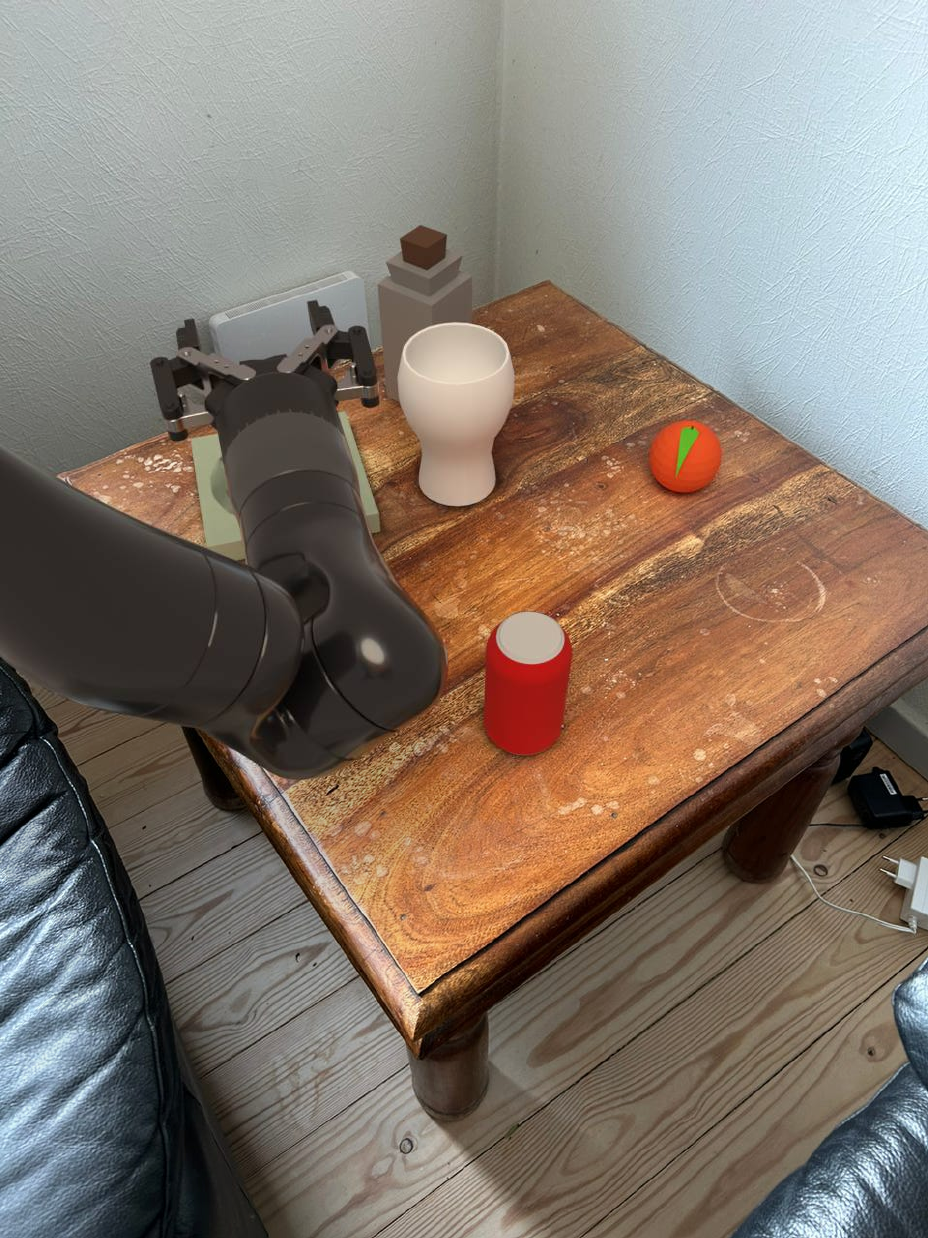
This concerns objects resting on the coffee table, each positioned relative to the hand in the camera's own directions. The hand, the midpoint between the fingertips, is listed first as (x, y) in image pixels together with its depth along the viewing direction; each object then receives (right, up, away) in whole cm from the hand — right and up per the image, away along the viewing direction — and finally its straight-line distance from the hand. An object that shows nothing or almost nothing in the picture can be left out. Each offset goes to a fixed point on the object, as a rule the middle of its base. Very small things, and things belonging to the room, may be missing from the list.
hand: (253, 320), depth 65 cm
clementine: (+36, -8, +27) cm, 46 cm away
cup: (+14, -7, +28) cm, 32 cm away
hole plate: (-3, -9, +27) cm, 28 cm away
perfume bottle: (+11, +4, +38) cm, 39 cm away
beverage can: (+20, -30, +9) cm, 37 cm away
